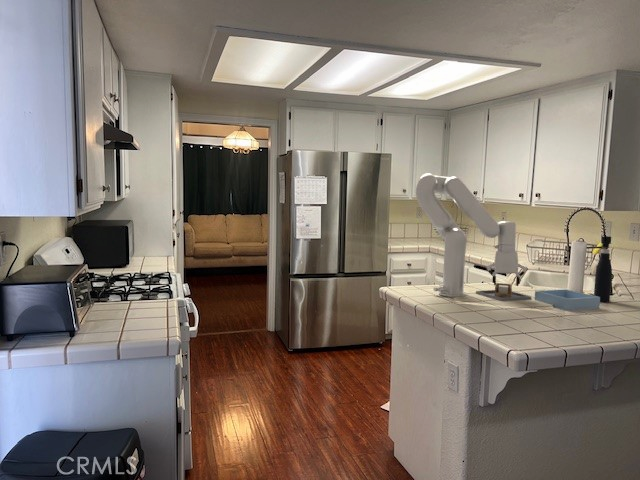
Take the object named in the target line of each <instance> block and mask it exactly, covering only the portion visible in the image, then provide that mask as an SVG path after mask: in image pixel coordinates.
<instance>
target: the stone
mask: <svg viewBox="0 0 640 480" xmlns="http://www.w3.org/2000/svg"><path fill="white" fill-rule="evenodd" d="M498 293H503V294H508V286H505V285H499V292H498Z"/></svg>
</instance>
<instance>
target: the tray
mask: <svg viewBox="0 0 640 480" xmlns="http://www.w3.org/2000/svg"><path fill="white" fill-rule="evenodd" d="M475 295H480V296H483V297H486V298H490V299H493V300H497V301H501V302H507V301H523V300H525V301H526V300H532V296H530V295H526V294H524V293H520V292H516V291H512V292H511V297H508V298H500V297H497V296H495V289H491V290H490V289H489V290H476V291H475Z"/></svg>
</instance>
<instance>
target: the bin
mask: <svg viewBox="0 0 640 480" xmlns="http://www.w3.org/2000/svg"><path fill="white" fill-rule="evenodd" d="M534 301H538V302H541V303H545V304H549V305H552V308H555V309H560V310H563V311H567V312H569V311H570V312H571V311H584V310H585V311H587V310H594V309H595V310H596V309H600V305H601V302H600V297H598V296H594V294H593V295H592V294H588V293H584V292H579V291H574V290H570V289H546V290H545V289H544V290H543V289H542V290H535V291H534Z"/></svg>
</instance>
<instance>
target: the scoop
mask: <svg viewBox="0 0 640 480" xmlns="http://www.w3.org/2000/svg"><path fill="white" fill-rule="evenodd" d="M499 285H505V286H508V294H503V293H498V292H499ZM512 286H513V285H512V284H511V283H503V282H502V283H501V282H496V285H494V290H495V296H497V297H500V298H508V297H511V292H513V290H512V289H513V288H512Z"/></svg>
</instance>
